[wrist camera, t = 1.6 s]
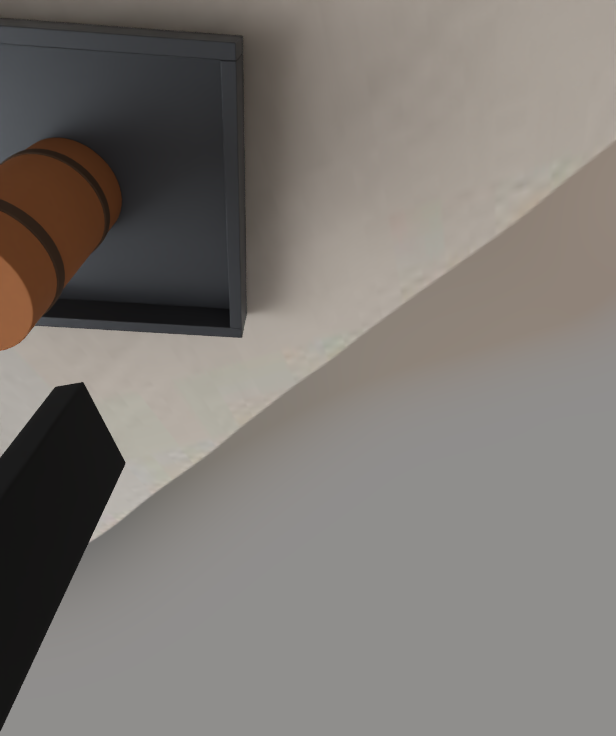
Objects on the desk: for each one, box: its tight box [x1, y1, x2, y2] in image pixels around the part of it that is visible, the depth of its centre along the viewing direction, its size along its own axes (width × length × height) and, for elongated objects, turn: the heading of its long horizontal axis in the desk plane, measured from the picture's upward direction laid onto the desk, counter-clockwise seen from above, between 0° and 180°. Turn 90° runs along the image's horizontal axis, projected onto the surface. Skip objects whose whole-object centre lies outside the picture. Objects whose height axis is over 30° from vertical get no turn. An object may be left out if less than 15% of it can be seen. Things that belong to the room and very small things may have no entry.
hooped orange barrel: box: [0, 138, 122, 351], centre depth 27 cm, size 6×6×13 cm
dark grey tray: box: [0, 18, 247, 338], centre depth 32 cm, size 18×22×3 cm
